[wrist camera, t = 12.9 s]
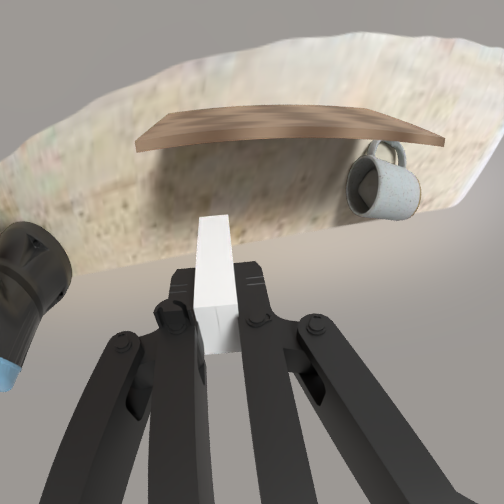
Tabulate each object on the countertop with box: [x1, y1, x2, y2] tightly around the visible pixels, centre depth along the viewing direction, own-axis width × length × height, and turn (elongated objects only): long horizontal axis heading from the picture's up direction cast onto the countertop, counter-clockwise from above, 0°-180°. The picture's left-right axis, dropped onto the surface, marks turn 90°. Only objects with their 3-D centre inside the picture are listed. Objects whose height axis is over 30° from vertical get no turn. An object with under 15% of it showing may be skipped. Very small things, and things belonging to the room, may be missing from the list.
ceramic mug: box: [346, 140, 421, 221], centre depth 33 cm, size 11×8×8 cm
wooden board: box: [135, 105, 445, 153], centre depth 24 cm, size 24×1×15 cm, turn 92°
